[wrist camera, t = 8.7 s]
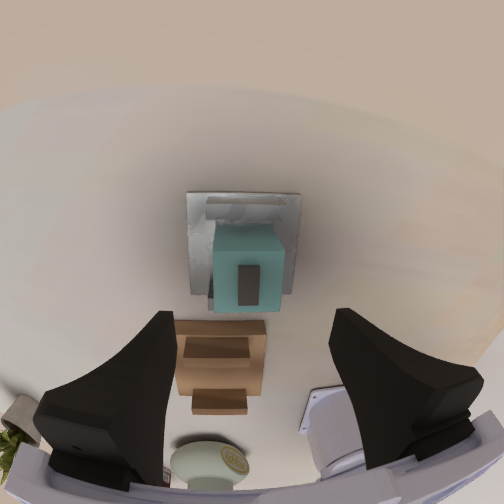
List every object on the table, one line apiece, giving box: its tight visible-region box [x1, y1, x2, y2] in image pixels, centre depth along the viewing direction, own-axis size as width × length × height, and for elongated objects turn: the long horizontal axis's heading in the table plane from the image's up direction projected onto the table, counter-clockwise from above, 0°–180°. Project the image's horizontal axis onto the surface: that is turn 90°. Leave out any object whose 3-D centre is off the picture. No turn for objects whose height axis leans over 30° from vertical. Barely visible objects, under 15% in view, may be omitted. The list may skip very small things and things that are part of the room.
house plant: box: [0, 394, 41, 484], centre depth 21 cm, size 14×14×16 cm
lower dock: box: [187, 191, 301, 310], centre depth 20 cm, size 8×8×3 cm
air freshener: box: [170, 441, 249, 491], centre depth 28 cm, size 11×8×10 cm
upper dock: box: [174, 320, 266, 415], centre depth 23 cm, size 8×8×4 cm
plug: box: [212, 225, 285, 313], centre depth 19 cm, size 4×4×6 cm
